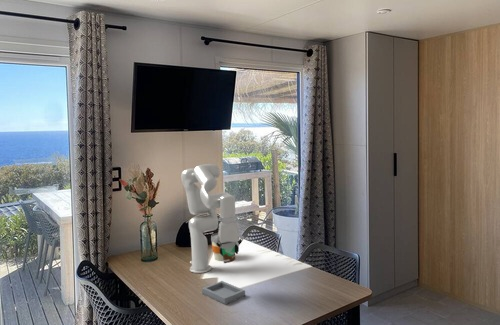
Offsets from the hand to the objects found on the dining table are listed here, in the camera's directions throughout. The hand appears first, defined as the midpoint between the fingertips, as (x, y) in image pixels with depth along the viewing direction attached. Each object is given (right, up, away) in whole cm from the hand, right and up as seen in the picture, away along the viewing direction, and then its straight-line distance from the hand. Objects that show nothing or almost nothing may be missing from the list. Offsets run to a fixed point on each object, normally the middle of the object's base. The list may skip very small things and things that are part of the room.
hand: (229, 253), depth 206 cm
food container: (+1, -3, 0) cm, 3 cm away
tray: (-3, -20, -2) cm, 20 cm away
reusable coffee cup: (-7, -15, +53) cm, 56 cm away
